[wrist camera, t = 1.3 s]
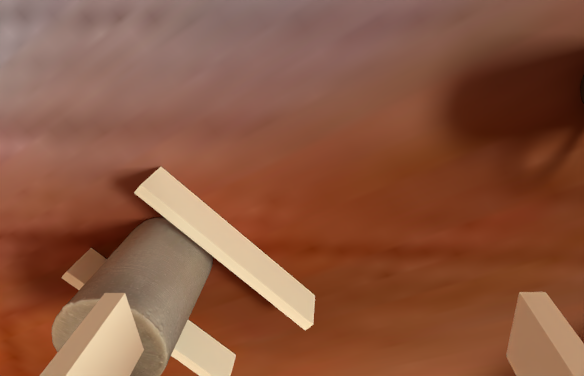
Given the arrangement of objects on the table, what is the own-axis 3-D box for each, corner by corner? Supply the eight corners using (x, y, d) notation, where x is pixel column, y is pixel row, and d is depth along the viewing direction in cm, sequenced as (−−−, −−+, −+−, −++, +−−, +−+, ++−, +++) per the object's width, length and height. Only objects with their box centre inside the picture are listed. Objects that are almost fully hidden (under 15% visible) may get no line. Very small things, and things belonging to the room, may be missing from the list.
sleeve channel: (85, 253, 45) (61, 277, 41) (160, 166, 39) (140, 184, 35) (230, 359, 50) (220, 390, 46) (315, 295, 44) (313, 324, 40)
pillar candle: (174, 300, 47) (111, 419, 33) (111, 245, 44) (14, 350, 30) (231, 259, 43) (187, 372, 30) (167, 197, 41) (87, 290, 27)
